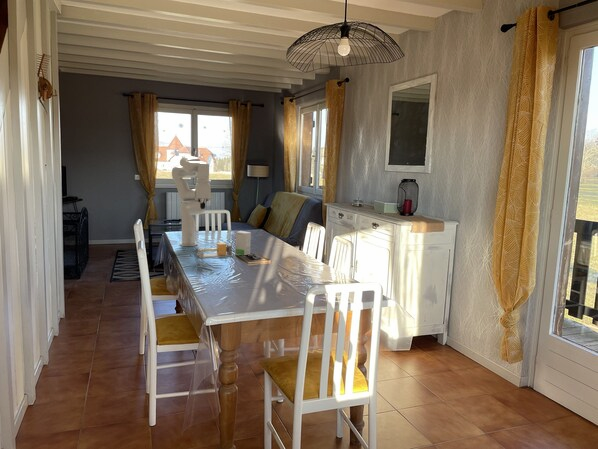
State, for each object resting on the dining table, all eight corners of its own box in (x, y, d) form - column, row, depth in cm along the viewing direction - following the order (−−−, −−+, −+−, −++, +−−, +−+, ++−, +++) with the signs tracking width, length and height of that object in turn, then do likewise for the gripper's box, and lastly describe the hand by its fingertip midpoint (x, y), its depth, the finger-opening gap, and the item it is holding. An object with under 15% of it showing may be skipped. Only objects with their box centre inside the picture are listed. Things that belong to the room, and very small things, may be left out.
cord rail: (197, 255, 292) (197, 245, 292) (228, 253, 302) (229, 243, 301) (200, 258, 283) (200, 248, 283) (233, 256, 293) (233, 246, 292)
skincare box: (234, 255, 296) (235, 231, 294) (240, 253, 302) (240, 230, 300) (245, 256, 293) (245, 233, 290) (250, 254, 298) (251, 231, 296)
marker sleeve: (216, 253, 295) (216, 243, 294) (224, 253, 298) (224, 242, 297) (218, 255, 291) (218, 244, 290) (226, 254, 293) (226, 244, 292)
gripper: (212, 181, 303) (212, 208, 306) (190, 180, 297) (190, 208, 300) (215, 182, 296) (215, 209, 299) (192, 181, 290) (192, 209, 293)
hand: (202, 208), depth 300 cm, fingers closed
